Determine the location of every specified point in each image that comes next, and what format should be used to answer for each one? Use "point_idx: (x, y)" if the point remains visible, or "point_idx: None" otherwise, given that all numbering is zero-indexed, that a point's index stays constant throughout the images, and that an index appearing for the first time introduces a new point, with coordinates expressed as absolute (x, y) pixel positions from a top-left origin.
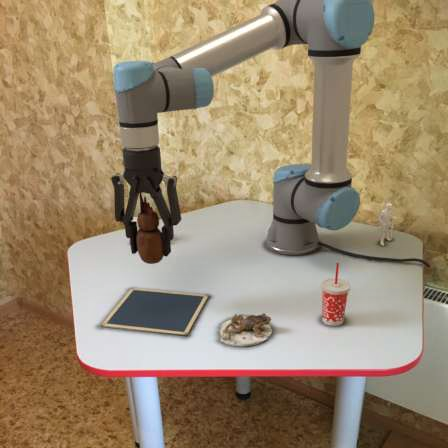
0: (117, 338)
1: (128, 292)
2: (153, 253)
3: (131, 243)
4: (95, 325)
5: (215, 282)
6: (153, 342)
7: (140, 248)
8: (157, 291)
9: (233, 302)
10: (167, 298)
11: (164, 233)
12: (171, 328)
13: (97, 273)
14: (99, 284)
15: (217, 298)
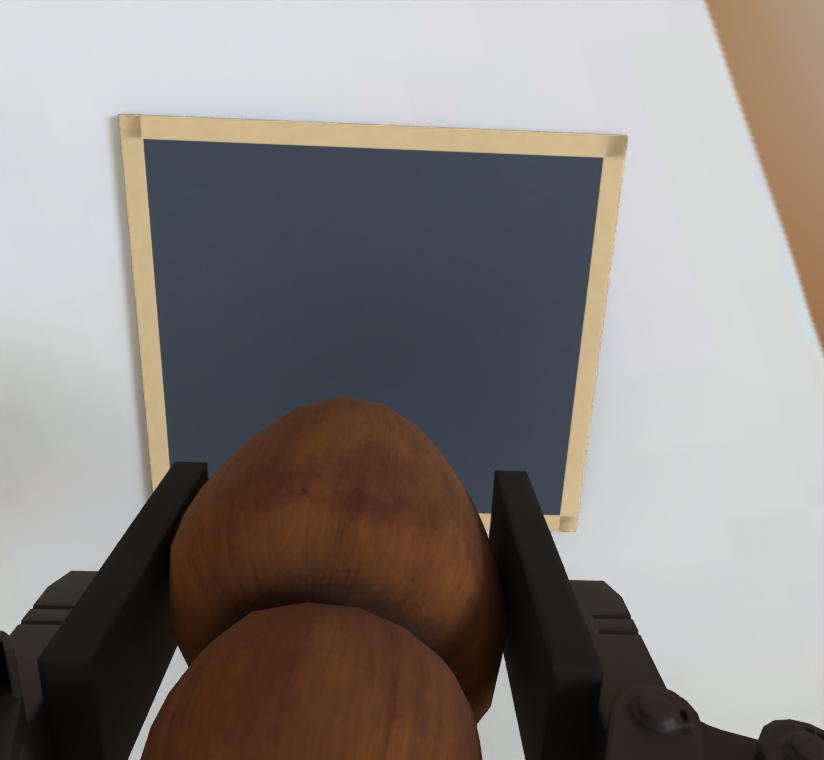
0: (495, 28)
1: (578, 485)
2: (271, 425)
3: (535, 524)
4: (660, 145)
5: None
6: (280, 20)
7: (407, 445)
8: None
9: (13, 482)
10: None
11: (81, 607)
12: (225, 166)
13: (797, 646)
14: (757, 548)
15: (107, 506)
